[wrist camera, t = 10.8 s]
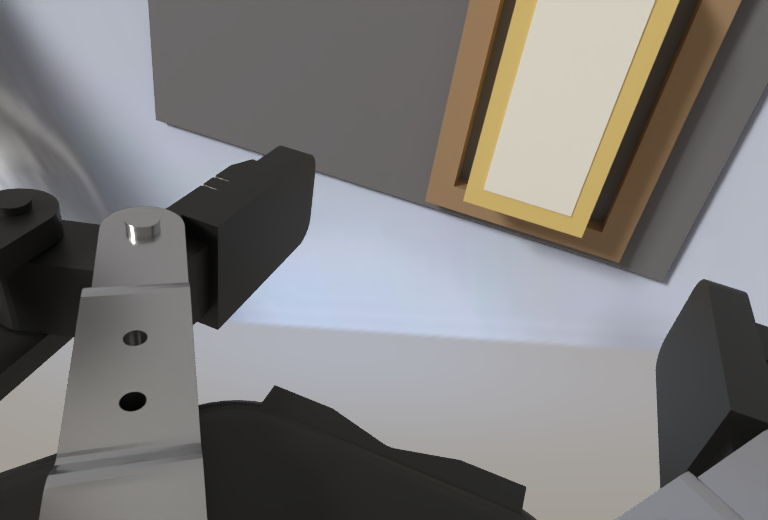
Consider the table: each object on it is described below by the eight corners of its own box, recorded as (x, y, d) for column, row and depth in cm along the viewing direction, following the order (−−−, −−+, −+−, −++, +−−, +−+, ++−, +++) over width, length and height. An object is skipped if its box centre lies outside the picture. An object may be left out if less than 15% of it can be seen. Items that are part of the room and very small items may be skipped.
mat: (161, 117, 34) (144, 125, 33) (140, -244, 25) (114, -251, 24) (662, 276, 28) (663, 292, 27) (869, -118, 19) (884, -118, 18)
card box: (549, -73, 22) (533, -67, 19) (685, -44, 21) (693, -33, 18) (483, 165, 28) (462, 201, 25) (588, 197, 27) (581, 239, 24)
